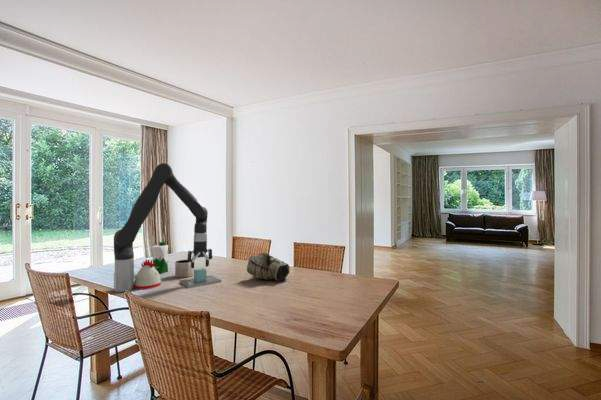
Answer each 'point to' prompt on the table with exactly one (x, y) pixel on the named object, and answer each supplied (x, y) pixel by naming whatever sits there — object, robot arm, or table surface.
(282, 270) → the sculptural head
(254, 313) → the table surface
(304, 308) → the table surface
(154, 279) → the kitchen timer
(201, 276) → the teal plastic block
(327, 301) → the table surface
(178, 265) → the planter
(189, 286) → the shaft plate
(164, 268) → the milk carton
